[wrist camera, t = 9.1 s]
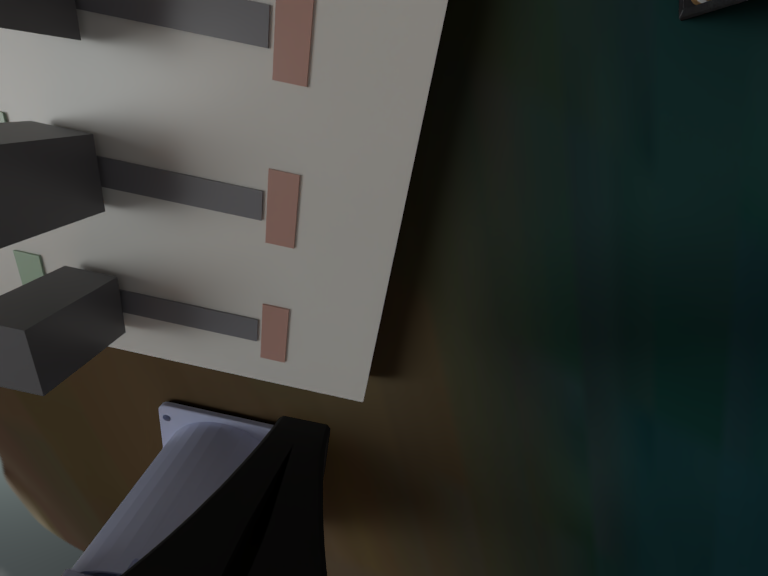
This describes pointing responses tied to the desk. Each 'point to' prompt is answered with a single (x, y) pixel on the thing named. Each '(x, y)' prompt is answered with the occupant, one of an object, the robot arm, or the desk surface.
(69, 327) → the block
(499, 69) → the desk surface
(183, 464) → the robot arm
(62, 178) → the block
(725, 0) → the ammunition clip
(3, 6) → the block
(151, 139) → the breaker panel
